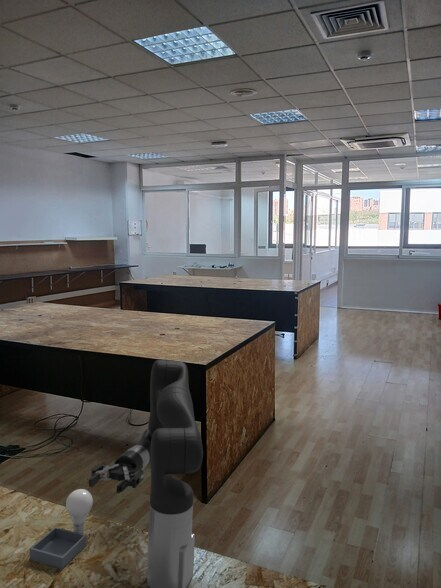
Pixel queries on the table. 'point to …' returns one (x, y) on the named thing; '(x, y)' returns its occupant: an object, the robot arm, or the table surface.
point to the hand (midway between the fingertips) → (103, 486)
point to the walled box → (58, 547)
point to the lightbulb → (79, 508)
